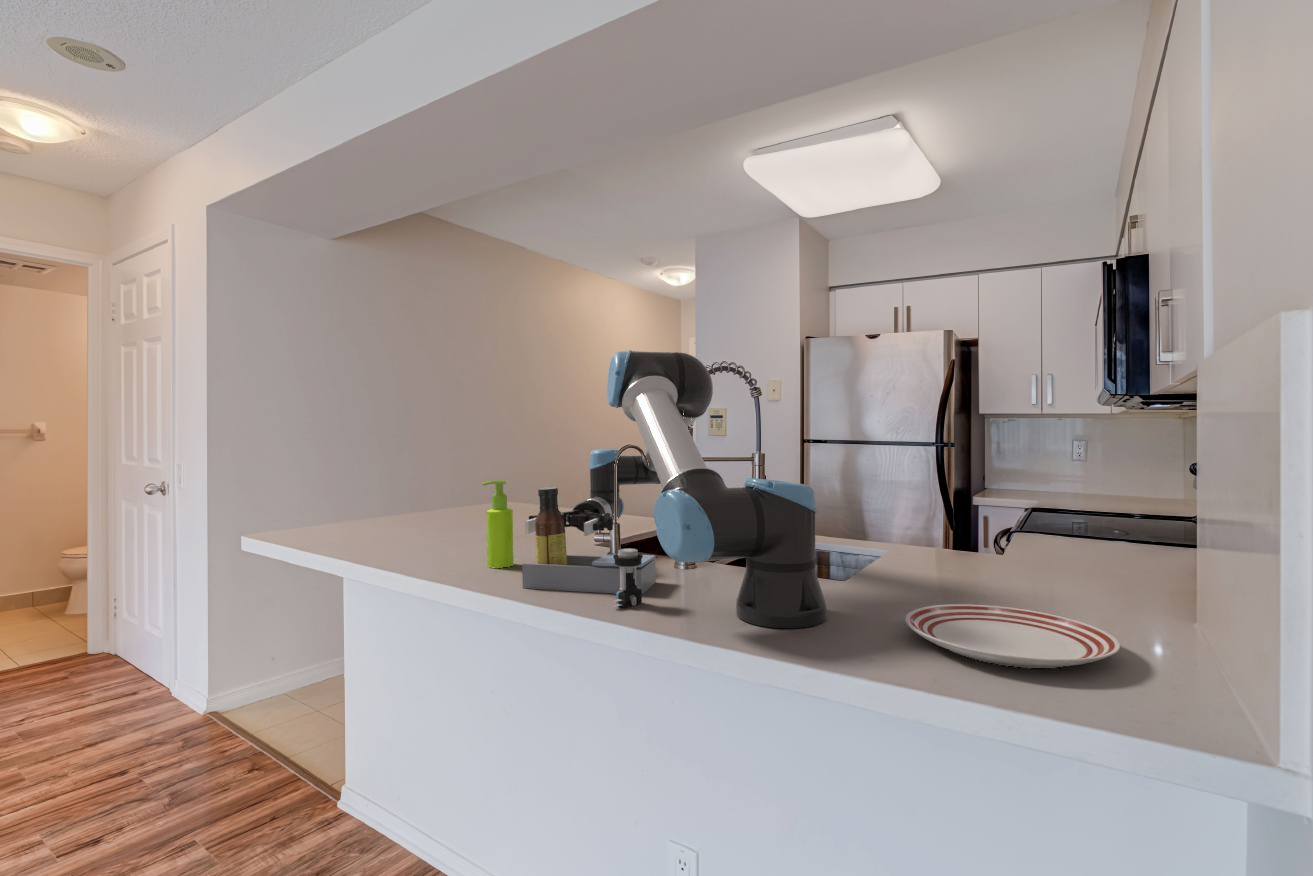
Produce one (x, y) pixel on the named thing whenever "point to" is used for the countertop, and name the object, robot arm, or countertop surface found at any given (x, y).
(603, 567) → the grey shallow tray
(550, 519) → the sauce bottle
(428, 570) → the countertop surface
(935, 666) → the countertop surface
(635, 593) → the push button
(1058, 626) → the dinner plate
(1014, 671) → the countertop surface
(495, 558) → the soap dispenser
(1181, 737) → the countertop surface
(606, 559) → the lid
